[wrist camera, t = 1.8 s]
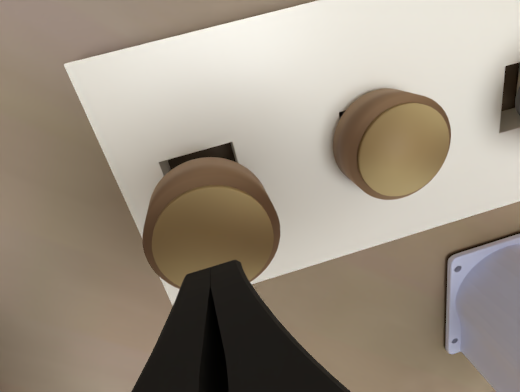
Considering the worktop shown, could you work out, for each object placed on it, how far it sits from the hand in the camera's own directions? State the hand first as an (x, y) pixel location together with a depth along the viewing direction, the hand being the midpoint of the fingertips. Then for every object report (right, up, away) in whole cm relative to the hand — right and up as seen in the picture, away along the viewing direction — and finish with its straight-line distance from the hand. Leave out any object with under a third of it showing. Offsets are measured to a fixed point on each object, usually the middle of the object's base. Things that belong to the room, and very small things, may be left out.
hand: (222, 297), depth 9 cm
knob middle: (+6, +6, +9) cm, 13 cm away
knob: (-1, +3, +7) cm, 7 cm away
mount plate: (+6, +6, +9) cm, 13 cm away
